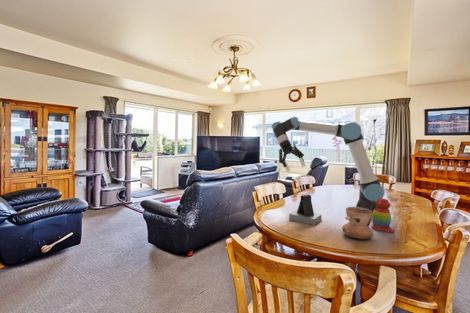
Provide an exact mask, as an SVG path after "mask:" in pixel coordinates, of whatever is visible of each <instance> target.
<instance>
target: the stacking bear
mask: <svg viewBox="0 0 470 313" xmlns="http://www.w3.org/2000/svg"><path fill="white" fill-rule="evenodd" d="M376 206H377V207H376V208H375V209H374V211H373V213H372V216H371V218H372V219H371V222H372V225H371V230H374V231H377V232H380V233H387V234H394V233H395V230H394V229H393V228H391V227H390V225H391V223H392V222H391V221H392V216H391V211H390V208H391V206H392V204H391V203H390V201H389V200H388V199H386V198H384V197H383V198H381V197H380V198H379V199H378V200H377V201H376Z"/></svg>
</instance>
